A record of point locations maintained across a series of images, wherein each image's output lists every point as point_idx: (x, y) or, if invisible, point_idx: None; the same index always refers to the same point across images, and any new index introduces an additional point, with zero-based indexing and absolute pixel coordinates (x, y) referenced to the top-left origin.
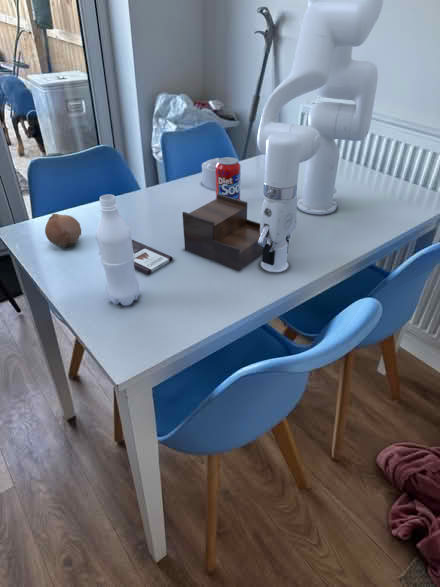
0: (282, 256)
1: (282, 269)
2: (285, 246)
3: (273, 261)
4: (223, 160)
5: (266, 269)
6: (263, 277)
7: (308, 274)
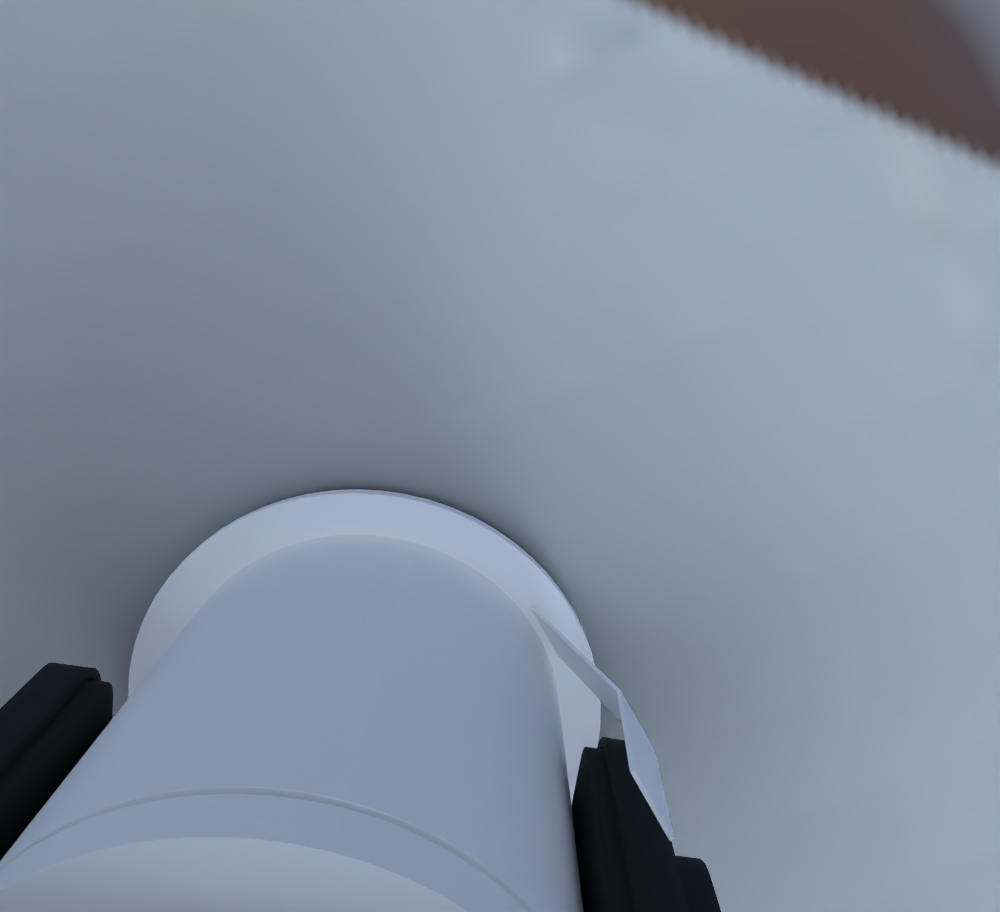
0: (442, 709)
1: (458, 544)
2: (274, 866)
3: None
4: None
5: None
6: (773, 715)
7: (321, 60)
